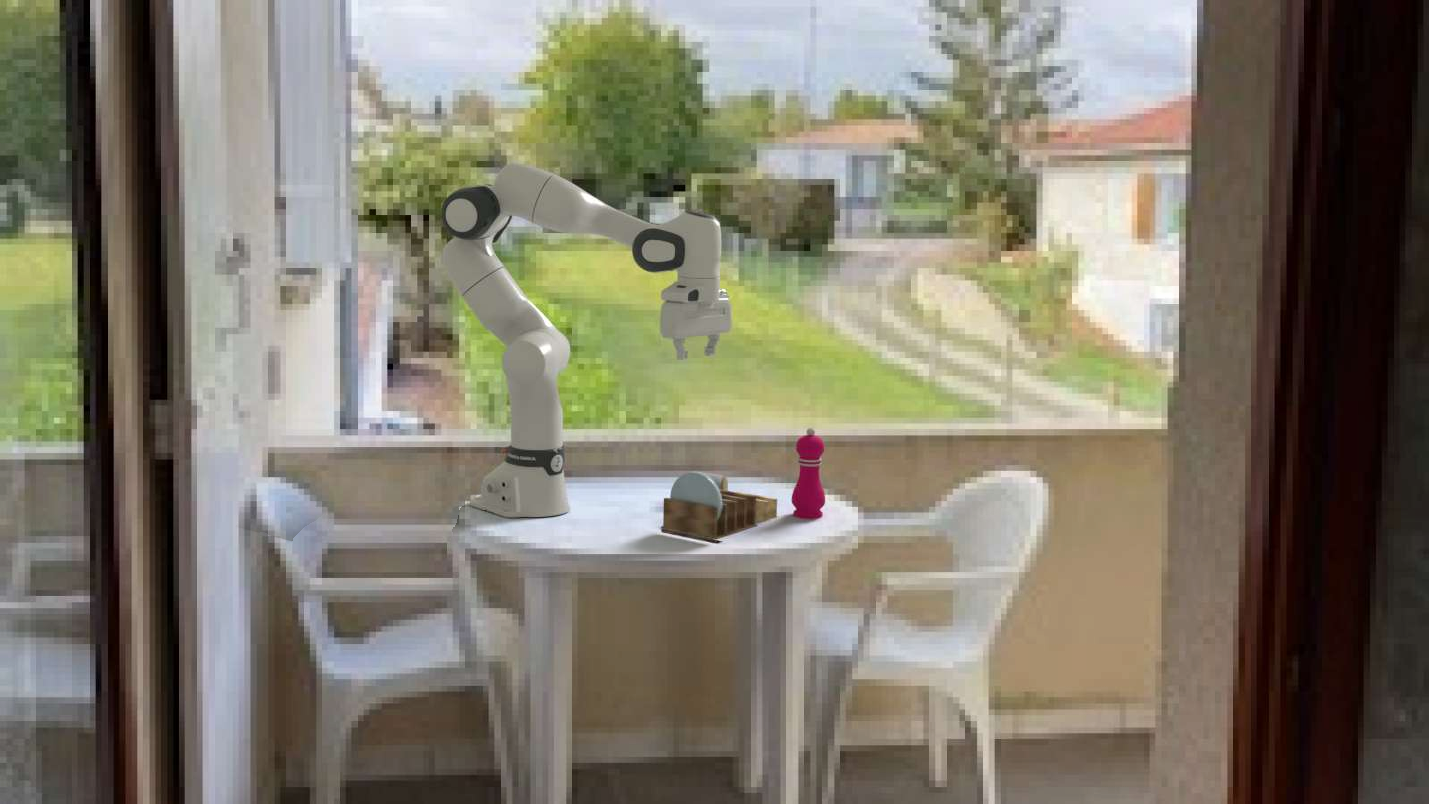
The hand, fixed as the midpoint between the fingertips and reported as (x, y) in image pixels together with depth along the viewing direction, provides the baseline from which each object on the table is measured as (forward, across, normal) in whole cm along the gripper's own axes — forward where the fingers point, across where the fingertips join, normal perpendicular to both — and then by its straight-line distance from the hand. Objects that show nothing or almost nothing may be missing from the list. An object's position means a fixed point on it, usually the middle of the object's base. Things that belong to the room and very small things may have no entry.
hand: (695, 357), depth 304 cm
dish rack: (+35, +4, +8) cm, 36 cm away
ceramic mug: (+35, -15, -7) cm, 39 cm away
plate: (+34, +9, +8) cm, 36 cm away
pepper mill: (+35, -18, +18) cm, 43 cm away
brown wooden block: (+35, -10, +9) cm, 37 cm away
